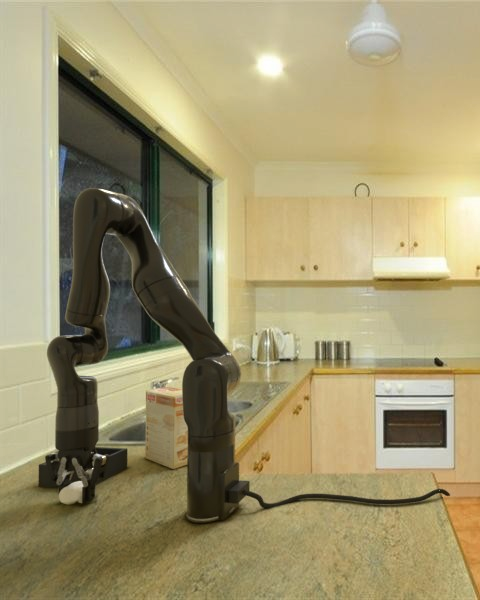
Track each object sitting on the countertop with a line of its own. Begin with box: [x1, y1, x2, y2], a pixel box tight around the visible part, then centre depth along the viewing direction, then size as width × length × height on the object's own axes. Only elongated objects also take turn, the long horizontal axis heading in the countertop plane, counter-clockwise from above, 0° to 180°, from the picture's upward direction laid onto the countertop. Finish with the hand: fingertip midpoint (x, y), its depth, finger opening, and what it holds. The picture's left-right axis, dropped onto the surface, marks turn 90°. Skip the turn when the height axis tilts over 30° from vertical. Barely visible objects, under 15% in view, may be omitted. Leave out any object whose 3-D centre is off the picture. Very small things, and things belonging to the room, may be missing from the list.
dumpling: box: [56, 481, 84, 506], centre depth 89 cm, size 7×5×4 cm
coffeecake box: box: [144, 386, 188, 470], centre depth 114 cm, size 15×7×20 cm, turn 58°
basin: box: [38, 446, 128, 489], centre depth 102 cm, size 13×13×5 cm
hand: (76, 500), depth 89 cm, fingers closed on dumpling, 5 cm apart
